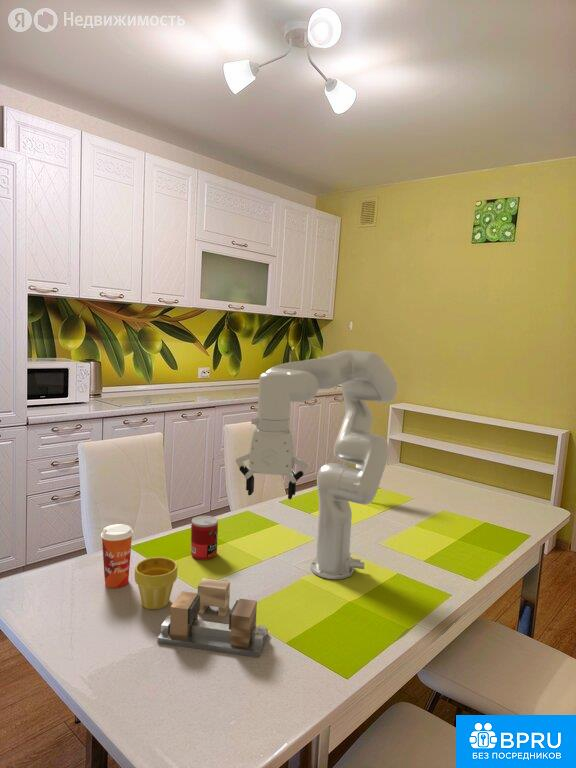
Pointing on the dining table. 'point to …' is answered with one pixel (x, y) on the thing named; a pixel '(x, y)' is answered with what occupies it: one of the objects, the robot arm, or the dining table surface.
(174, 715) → the dining table surface
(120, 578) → the coffee cup
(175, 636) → the rail
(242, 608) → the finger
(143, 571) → the plant pot
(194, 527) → the canned food
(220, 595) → the tan notched block
